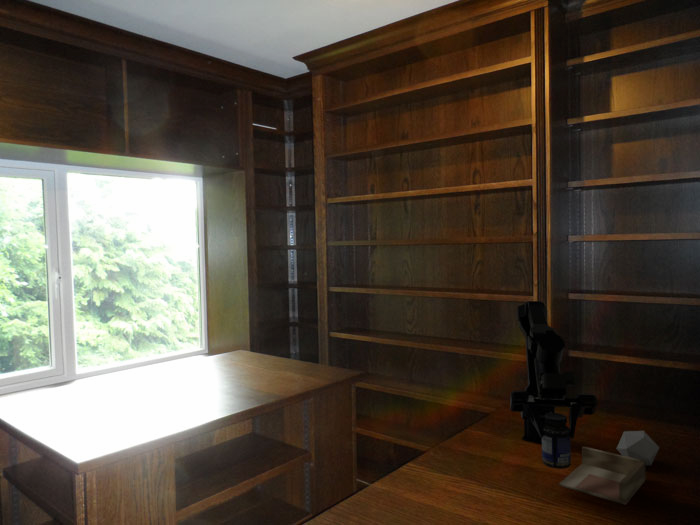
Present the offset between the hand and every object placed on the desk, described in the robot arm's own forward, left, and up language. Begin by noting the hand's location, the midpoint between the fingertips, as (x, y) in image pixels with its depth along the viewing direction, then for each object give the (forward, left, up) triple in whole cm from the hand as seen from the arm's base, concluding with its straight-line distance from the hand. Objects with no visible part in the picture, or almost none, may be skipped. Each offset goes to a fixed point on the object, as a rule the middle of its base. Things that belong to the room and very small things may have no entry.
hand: (557, 437), depth 114 cm
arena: (+6, +11, -12) cm, 18 cm away
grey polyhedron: (+9, +28, -13) cm, 32 cm away
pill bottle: (-1, +1, -7) cm, 7 cm away
